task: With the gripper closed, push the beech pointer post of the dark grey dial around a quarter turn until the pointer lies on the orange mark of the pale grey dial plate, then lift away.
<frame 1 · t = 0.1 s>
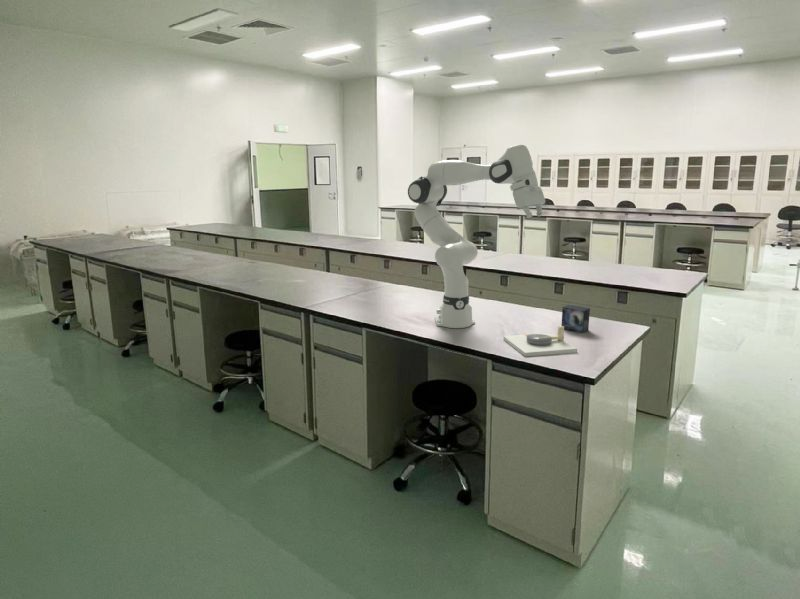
hand: (535, 216, 211), 52 cm above the table, fingers open, 8 cm apart
small box: (574, 330, 236), on the table
dial plate: (538, 345, 214), on the table
dial: (545, 334, 213), point 5 cm above the table, hinge at 0.0°
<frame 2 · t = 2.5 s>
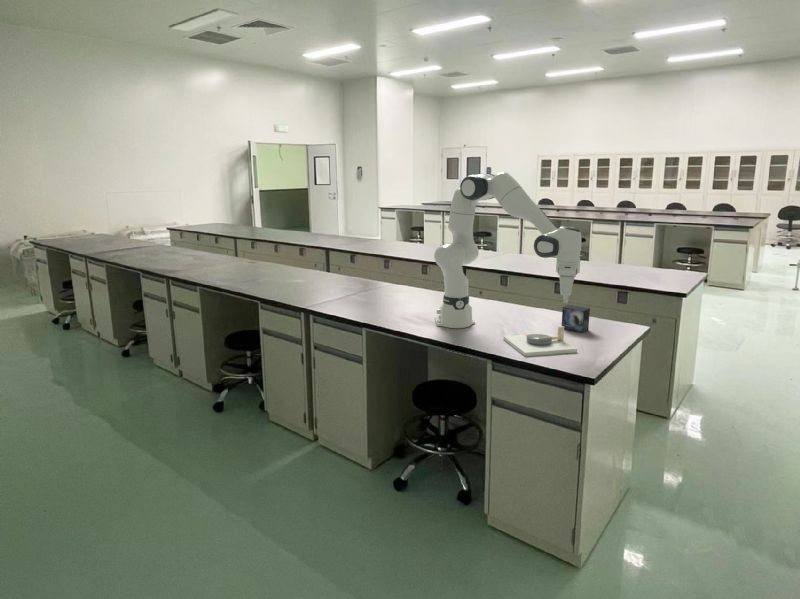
hand: (565, 302, 207), 19 cm above the table, fingers closed
nothing on the table moved.
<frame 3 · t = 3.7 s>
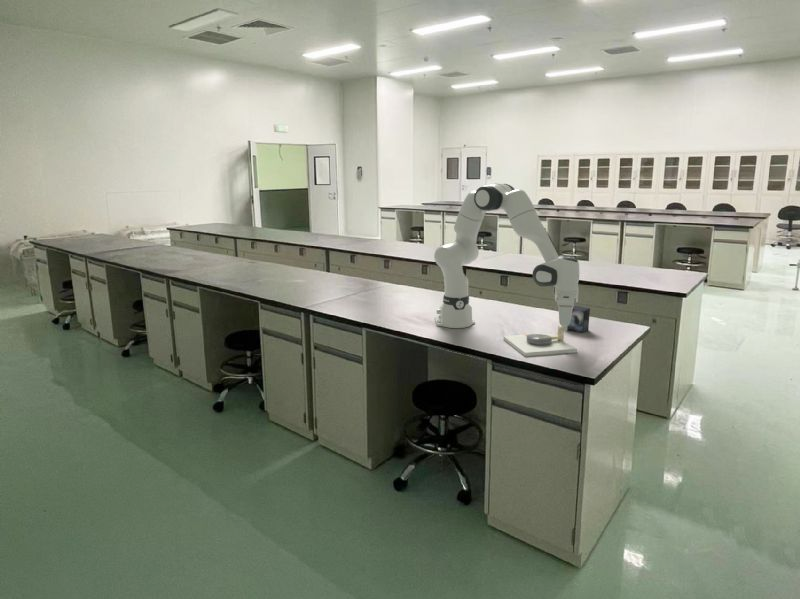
hand: (564, 330, 209), 7 cm above the table, fingers closed
nothing on the table moved.
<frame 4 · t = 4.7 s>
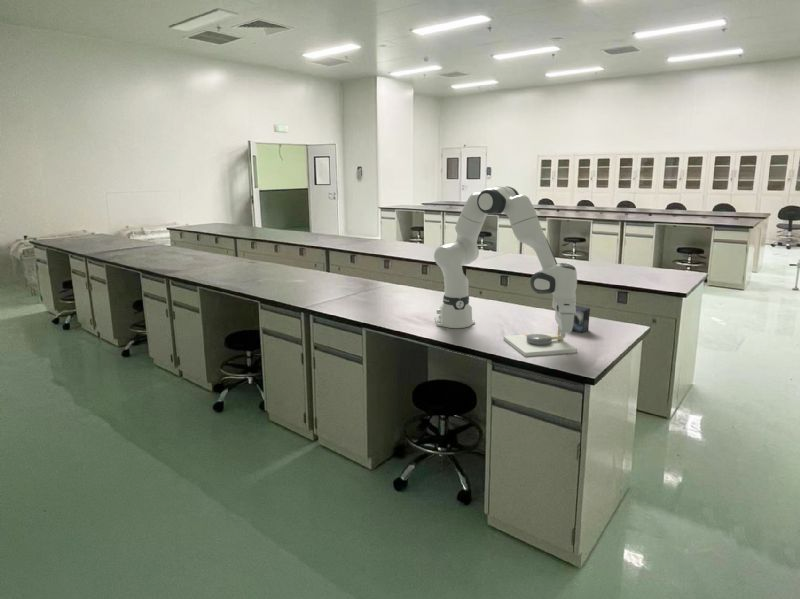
hand: (562, 337, 212), 4 cm above the table, fingers closed
dial: (545, 334, 213), point 5 cm above the table, hinge at 0.2°, touching gripper
everything else where it was.
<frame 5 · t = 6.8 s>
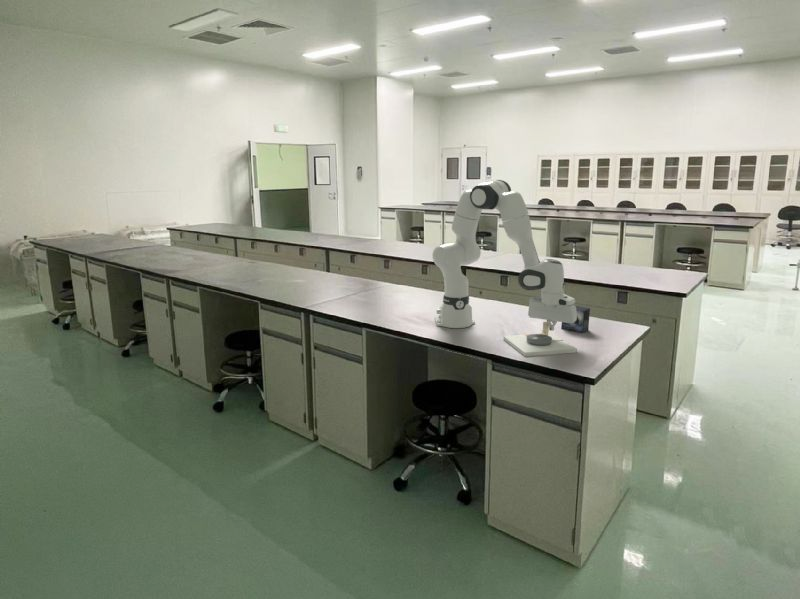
hand: (551, 330, 219), 5 cm above the table, fingers closed
dial: (541, 332, 215), point 5 cm above the table, hinge at 48.5°, touching gripper
everything else where it was.
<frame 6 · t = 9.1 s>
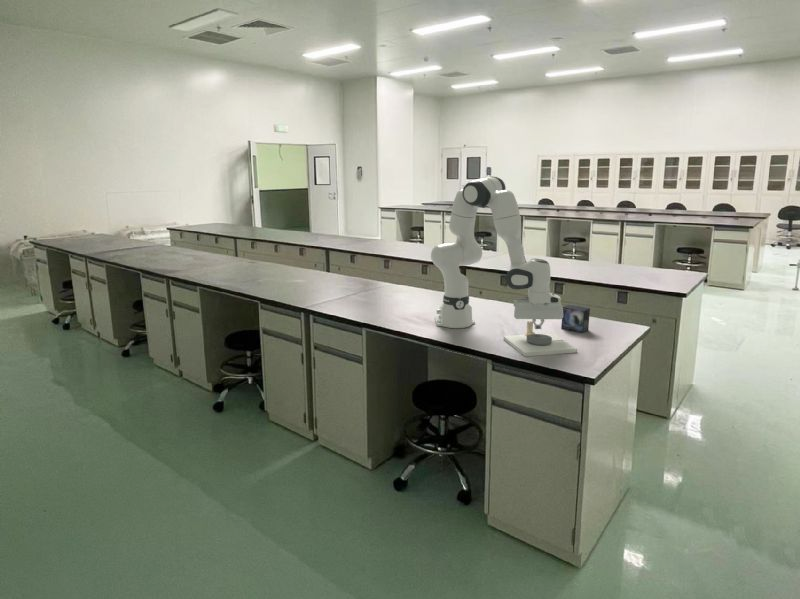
hand: (537, 328, 222), 5 cm above the table, fingers closed
dial: (536, 332, 216), point 5 cm above the table, hinge at 89.1°, touching gripper
everything else where it was.
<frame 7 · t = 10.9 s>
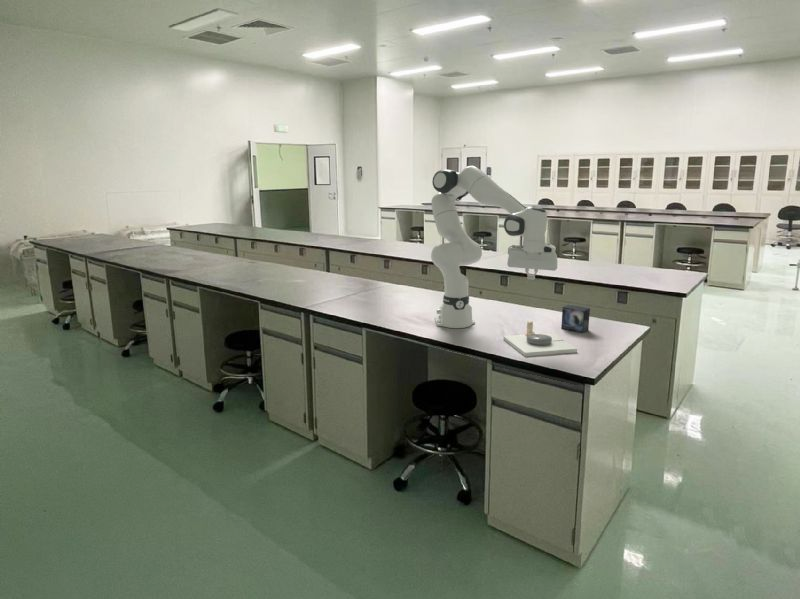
hand: (530, 279, 218), 26 cm above the table, fingers closed
dial: (536, 332, 216), point 5 cm above the table, hinge at 89.2°
everything else where it was.
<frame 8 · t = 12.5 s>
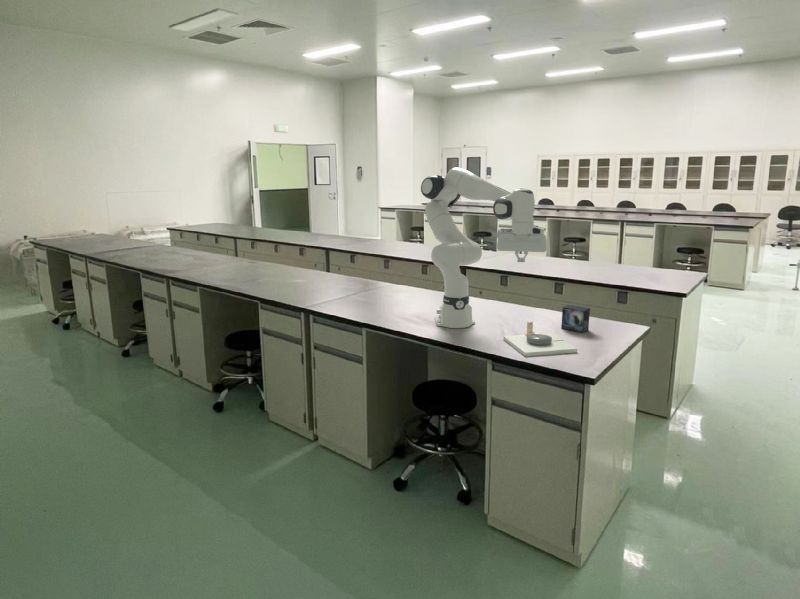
hand: (521, 262, 217), 33 cm above the table, fingers closed
nothing on the table moved.
at the end: dial at +89° (first picture: +0°); small box moved 0.3 cm from its start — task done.
